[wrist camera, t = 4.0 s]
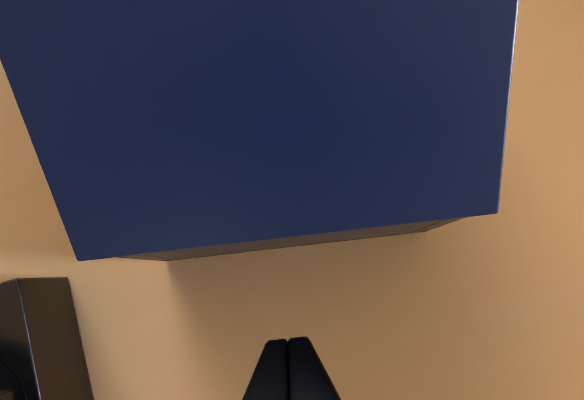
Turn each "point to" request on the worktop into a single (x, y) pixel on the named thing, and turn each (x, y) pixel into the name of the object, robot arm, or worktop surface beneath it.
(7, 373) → the red push button box
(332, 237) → the dark grey housing
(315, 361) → the robot arm
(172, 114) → the lid
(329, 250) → the worktop surface
